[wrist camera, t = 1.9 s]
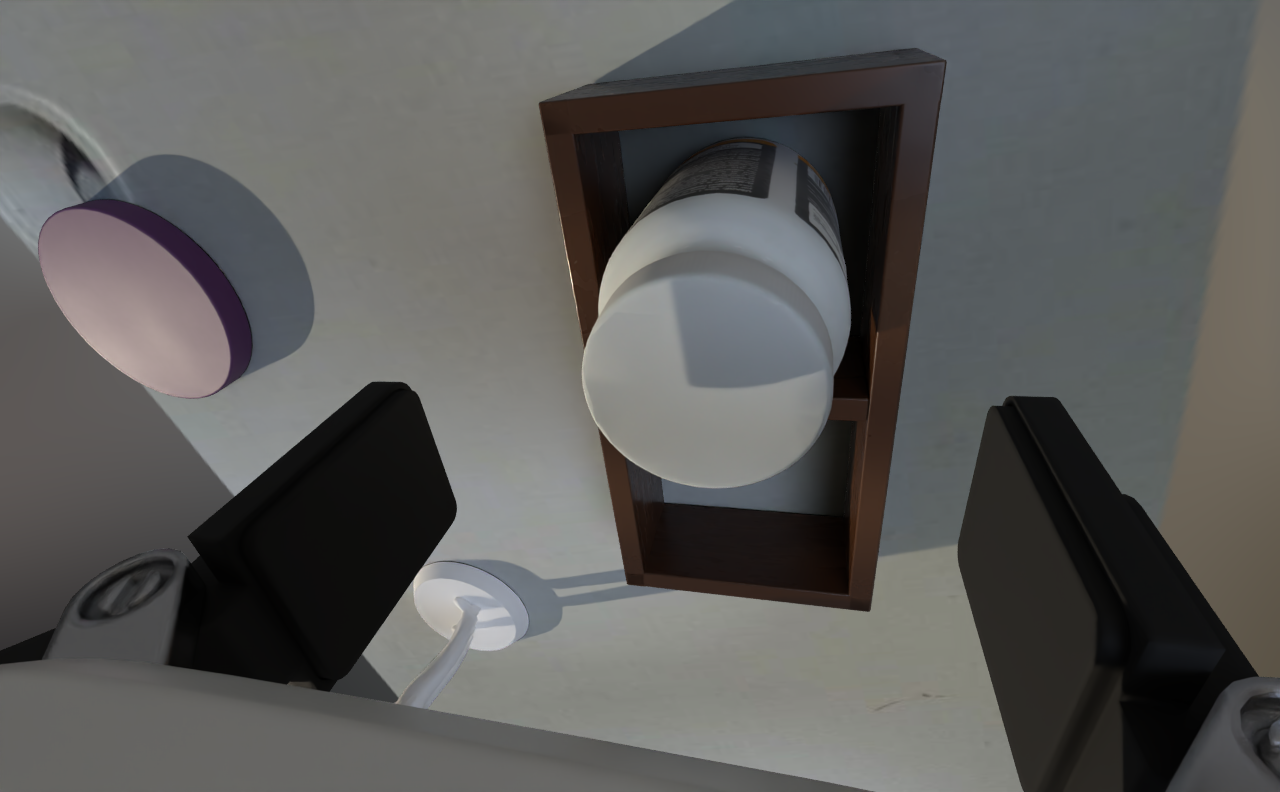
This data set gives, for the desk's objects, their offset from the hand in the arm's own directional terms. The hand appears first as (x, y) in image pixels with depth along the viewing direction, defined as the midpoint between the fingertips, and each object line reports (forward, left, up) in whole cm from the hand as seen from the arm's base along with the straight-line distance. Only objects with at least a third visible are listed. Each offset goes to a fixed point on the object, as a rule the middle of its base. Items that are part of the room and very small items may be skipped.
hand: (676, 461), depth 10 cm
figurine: (+21, -16, -12) cm, 29 cm away
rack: (+4, 0, -11) cm, 12 cm away
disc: (+2, -26, -11) cm, 28 cm away
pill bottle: (0, 0, -12) cm, 12 cm away
